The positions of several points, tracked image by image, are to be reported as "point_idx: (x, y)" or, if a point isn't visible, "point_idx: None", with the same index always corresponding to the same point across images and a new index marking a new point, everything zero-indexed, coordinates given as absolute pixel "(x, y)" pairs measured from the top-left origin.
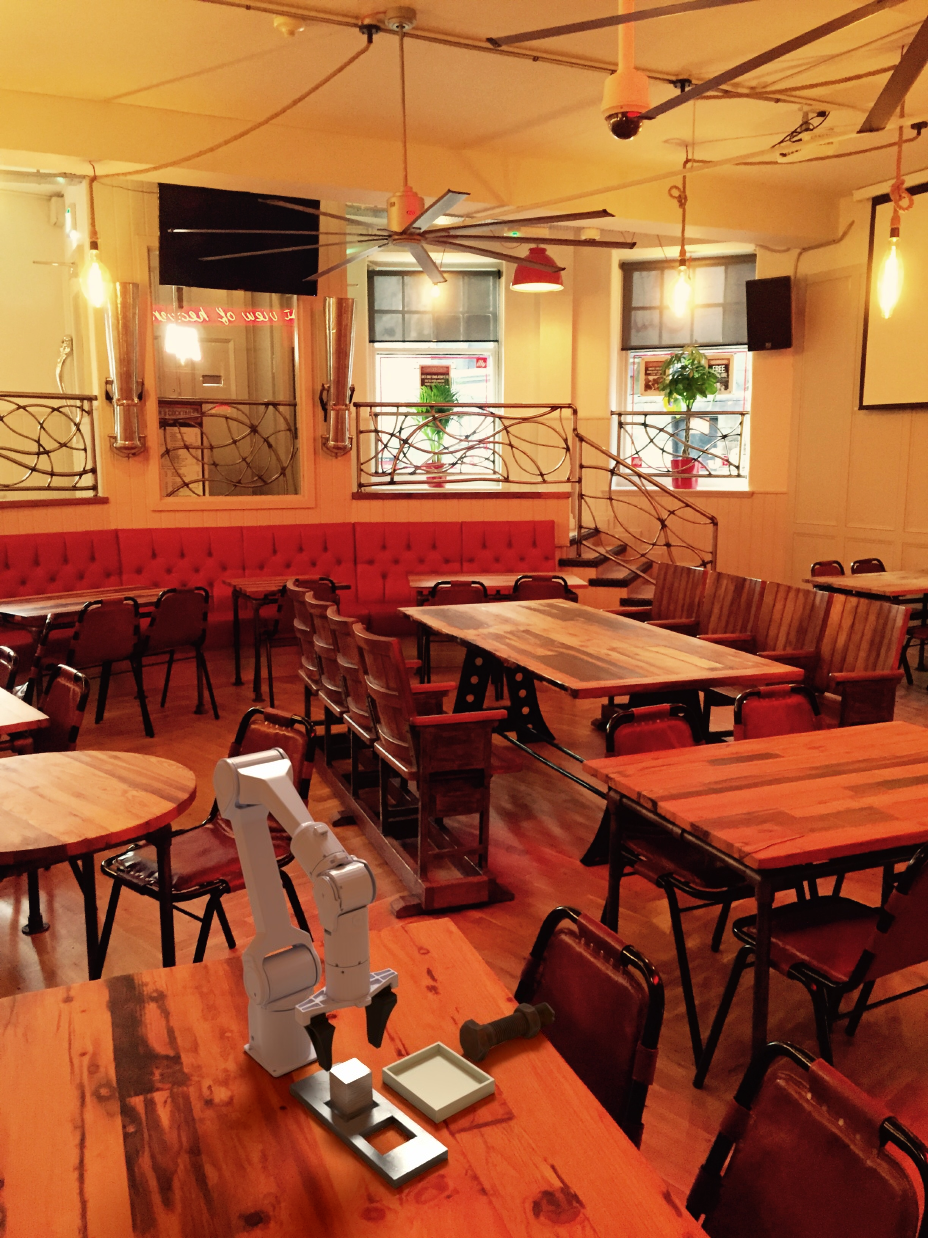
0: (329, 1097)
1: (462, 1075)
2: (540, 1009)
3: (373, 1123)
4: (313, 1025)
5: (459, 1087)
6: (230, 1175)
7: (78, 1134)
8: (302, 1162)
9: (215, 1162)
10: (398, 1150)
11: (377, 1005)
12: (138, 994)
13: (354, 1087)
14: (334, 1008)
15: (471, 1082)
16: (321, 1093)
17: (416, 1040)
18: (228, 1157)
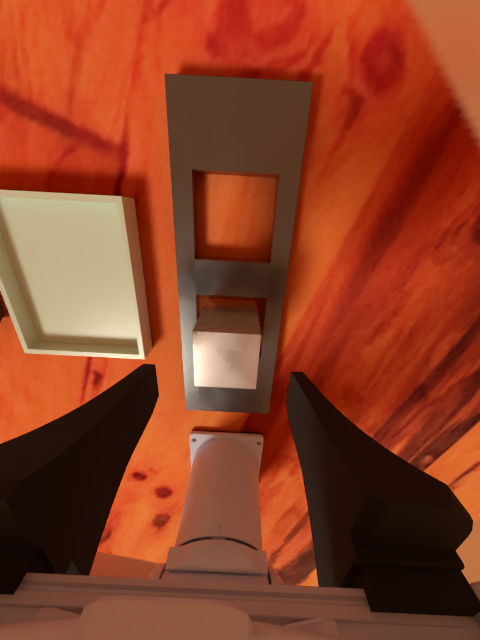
0: None
1: (27, 265)
2: None
3: (233, 264)
4: (450, 559)
5: (47, 242)
6: (434, 330)
7: (462, 479)
8: (355, 283)
9: (423, 362)
10: (247, 161)
11: (65, 494)
12: None
13: (239, 326)
14: None
15: (19, 237)
16: None
17: (61, 384)
18: (406, 359)
